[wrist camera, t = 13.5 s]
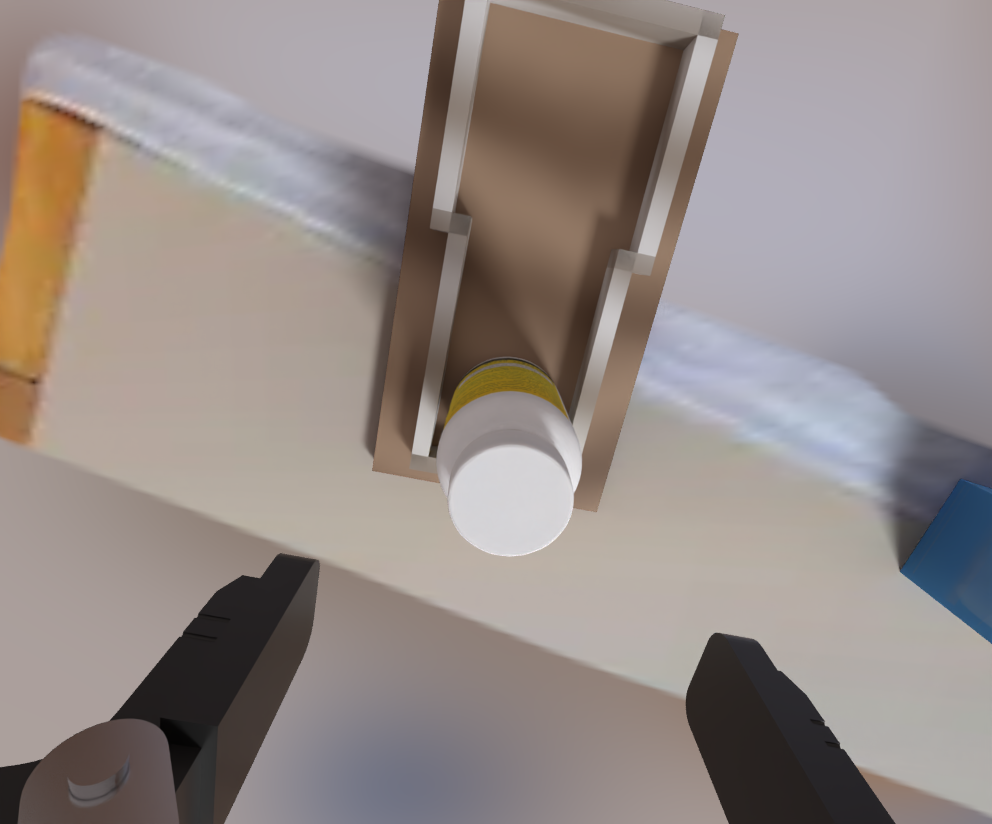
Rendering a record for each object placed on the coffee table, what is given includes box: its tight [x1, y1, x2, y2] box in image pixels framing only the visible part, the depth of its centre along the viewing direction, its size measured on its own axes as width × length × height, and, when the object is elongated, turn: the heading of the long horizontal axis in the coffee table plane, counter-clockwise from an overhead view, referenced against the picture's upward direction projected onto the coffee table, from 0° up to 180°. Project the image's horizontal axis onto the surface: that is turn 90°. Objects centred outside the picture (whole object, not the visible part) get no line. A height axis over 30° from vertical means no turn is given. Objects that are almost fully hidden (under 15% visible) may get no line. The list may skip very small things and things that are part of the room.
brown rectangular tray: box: [372, 0, 738, 512], centre depth 23 cm, size 22×12×2 cm, turn 168°
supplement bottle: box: [436, 357, 582, 556], centre depth 20 cm, size 5×5×10 cm
